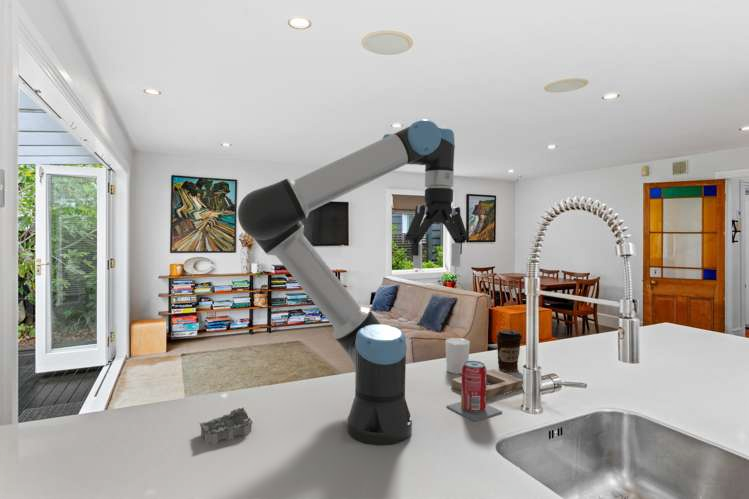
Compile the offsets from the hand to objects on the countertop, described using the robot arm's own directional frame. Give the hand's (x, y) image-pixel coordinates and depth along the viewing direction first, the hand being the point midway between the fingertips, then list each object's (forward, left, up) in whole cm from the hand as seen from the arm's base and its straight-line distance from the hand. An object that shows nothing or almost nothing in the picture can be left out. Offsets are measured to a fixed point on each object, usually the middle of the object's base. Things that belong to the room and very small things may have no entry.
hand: (437, 267), depth 116 cm
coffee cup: (+39, +7, -37) cm, 54 cm away
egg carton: (-53, +10, -37) cm, 65 cm away
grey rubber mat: (+5, -10, -37) cm, 38 cm away
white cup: (+23, +15, -37) cm, 46 cm away
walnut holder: (+20, -1, -37) cm, 42 cm away
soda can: (+5, -10, -36) cm, 38 cm away
